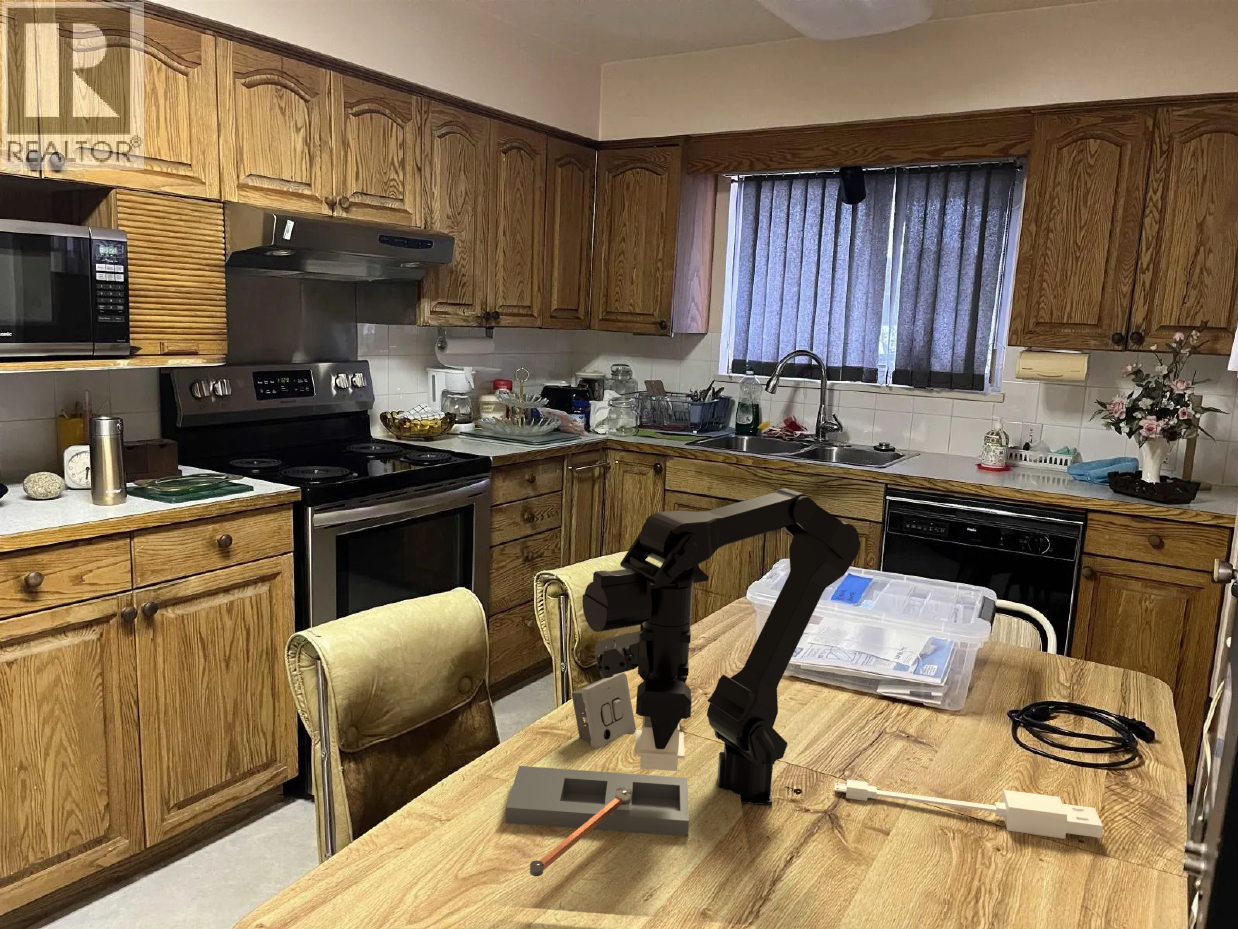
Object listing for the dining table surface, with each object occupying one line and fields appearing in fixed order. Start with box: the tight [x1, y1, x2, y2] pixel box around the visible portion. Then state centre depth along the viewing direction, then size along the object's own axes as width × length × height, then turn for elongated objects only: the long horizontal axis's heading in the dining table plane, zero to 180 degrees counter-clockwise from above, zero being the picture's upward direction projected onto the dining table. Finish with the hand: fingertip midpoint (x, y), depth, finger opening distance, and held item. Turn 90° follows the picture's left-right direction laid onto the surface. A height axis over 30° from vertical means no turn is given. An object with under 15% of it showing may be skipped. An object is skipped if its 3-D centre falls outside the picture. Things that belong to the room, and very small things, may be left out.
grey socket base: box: [505, 765, 690, 837], centre depth 114 cm, size 22×10×4 cm, turn 87°
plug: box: [634, 716, 686, 772], centre depth 113 cm, size 6×6×6 cm
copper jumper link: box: [529, 787, 632, 877], centre depth 104 cm, size 19×2×1 cm, turn 148°
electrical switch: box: [571, 672, 637, 749], centre depth 134 cm, size 9×5×9 cm, turn 141°
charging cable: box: [834, 779, 1104, 840], centre depth 119 cm, size 5×32×3 cm, turn 76°
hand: (660, 739), depth 113 cm, fingers closed on plug, 4 cm apart
